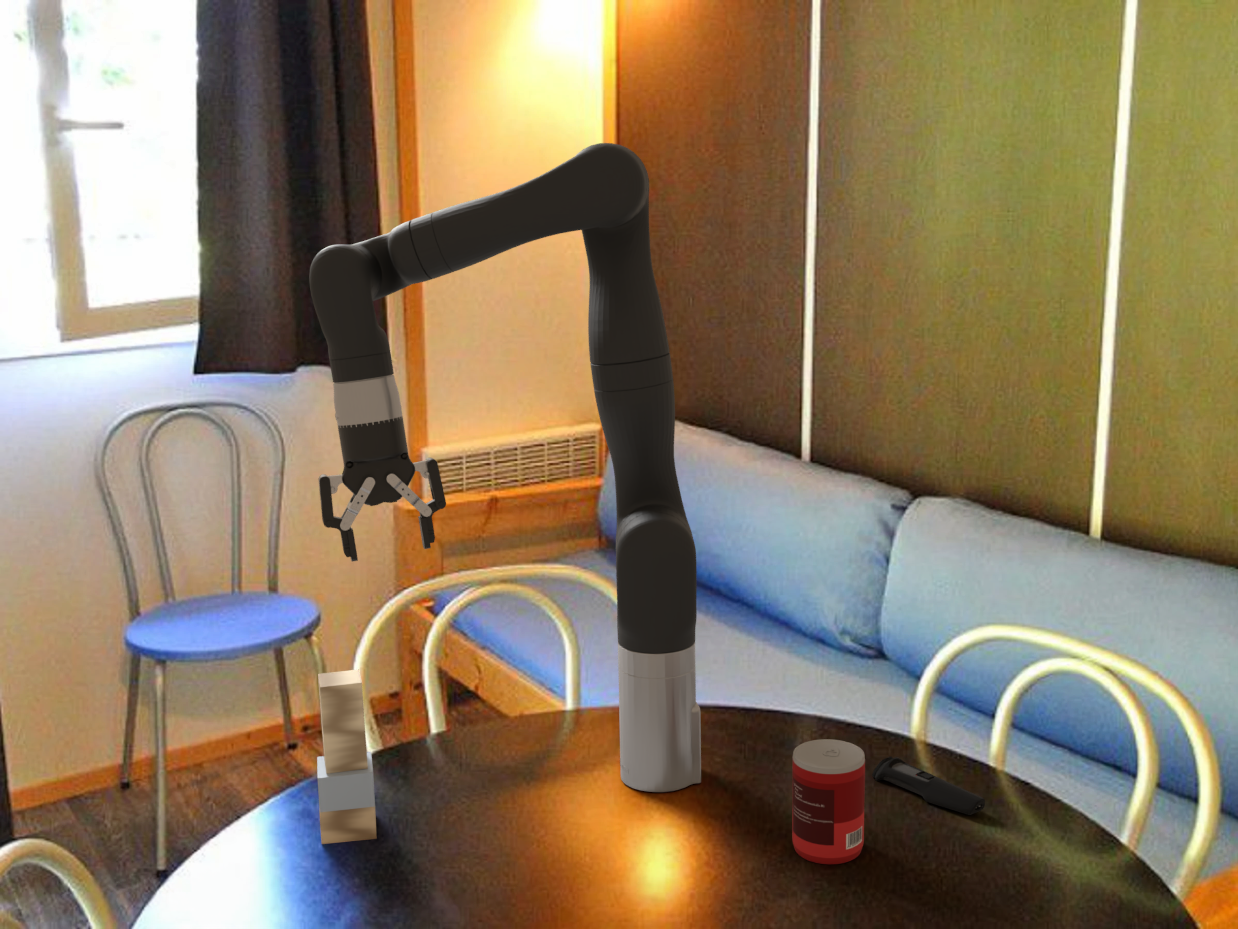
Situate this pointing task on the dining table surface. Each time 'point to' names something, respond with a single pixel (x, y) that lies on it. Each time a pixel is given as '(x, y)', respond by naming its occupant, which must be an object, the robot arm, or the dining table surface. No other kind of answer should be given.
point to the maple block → (342, 721)
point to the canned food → (828, 801)
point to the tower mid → (345, 787)
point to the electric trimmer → (928, 786)
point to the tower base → (348, 825)
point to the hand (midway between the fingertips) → (391, 554)
